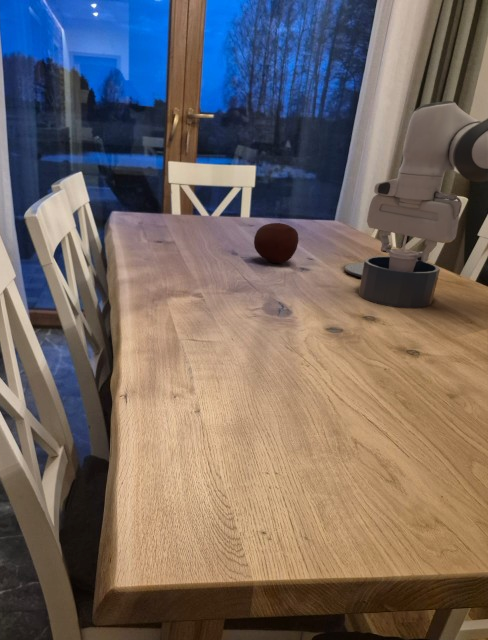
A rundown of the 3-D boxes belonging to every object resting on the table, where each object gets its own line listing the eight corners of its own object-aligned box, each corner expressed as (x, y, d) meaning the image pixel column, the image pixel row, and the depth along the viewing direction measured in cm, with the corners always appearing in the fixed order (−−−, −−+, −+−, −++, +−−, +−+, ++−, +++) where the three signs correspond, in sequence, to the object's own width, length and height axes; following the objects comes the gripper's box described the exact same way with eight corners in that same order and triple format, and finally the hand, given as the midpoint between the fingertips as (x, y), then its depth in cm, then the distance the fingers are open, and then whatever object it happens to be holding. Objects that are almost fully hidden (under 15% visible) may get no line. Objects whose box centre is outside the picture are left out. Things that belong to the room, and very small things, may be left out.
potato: (272, 255, 163) (276, 217, 159) (305, 265, 153) (310, 225, 149) (242, 258, 157) (245, 219, 153) (274, 269, 148) (279, 228, 143)
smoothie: (374, 292, 130) (387, 228, 124) (398, 290, 132) (412, 228, 126) (391, 300, 125) (405, 234, 119) (416, 298, 127) (431, 234, 121)
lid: (424, 279, 146) (428, 260, 144) (382, 286, 137) (386, 266, 135) (372, 264, 158) (375, 247, 156) (330, 270, 149) (333, 252, 147)
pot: (446, 302, 127) (454, 268, 124) (401, 311, 119) (409, 276, 116) (388, 285, 139) (394, 253, 135) (344, 292, 130) (349, 259, 127)
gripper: (472, 195, 113) (455, 265, 119) (387, 183, 128) (375, 246, 134) (454, 196, 109) (437, 268, 116) (368, 183, 124) (357, 248, 130)
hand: (403, 256), depth 125 cm, fingers open, 8 cm apart
